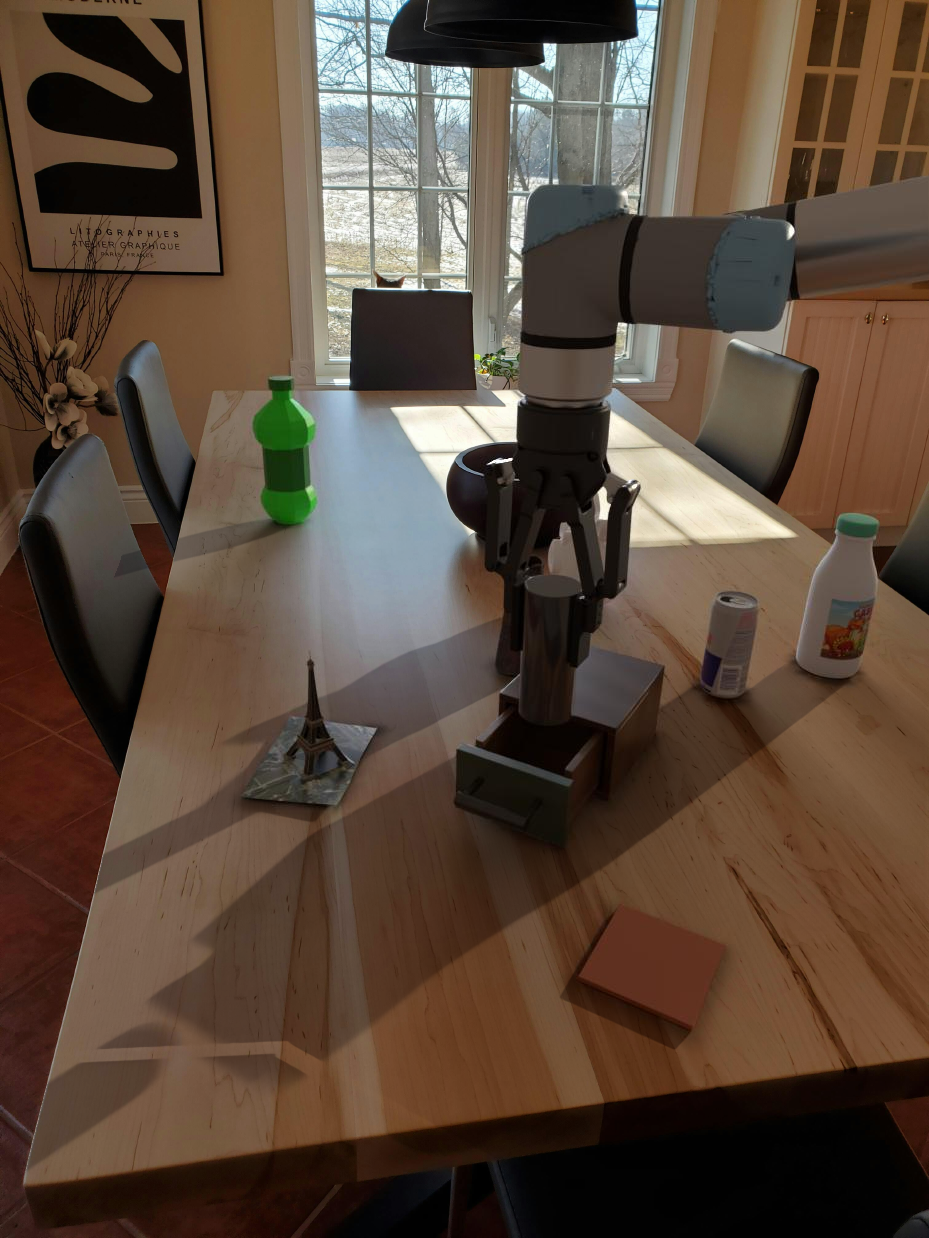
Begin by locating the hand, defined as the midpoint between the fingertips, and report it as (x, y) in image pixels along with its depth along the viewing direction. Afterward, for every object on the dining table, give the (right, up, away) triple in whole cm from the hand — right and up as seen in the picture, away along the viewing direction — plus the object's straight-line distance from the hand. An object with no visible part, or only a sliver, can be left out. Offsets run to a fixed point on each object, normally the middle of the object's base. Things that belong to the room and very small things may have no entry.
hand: (549, 652), depth 82 cm
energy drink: (+24, -6, +28) cm, 37 cm away
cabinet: (+5, -11, +16) cm, 20 cm away
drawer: (-1, -15, +5) cm, 16 cm away
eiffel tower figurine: (-24, -12, +12) cm, 29 cm away
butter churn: (-1, -4, +31) cm, 31 cm away
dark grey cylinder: (0, -6, +3) cm, 6 cm away
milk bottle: (+39, -3, +34) cm, 52 cm away
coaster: (+7, -24, -12) cm, 28 cm away
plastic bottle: (-39, +21, +79) cm, 91 cm away
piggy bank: (+10, +5, +49) cm, 51 cm away
